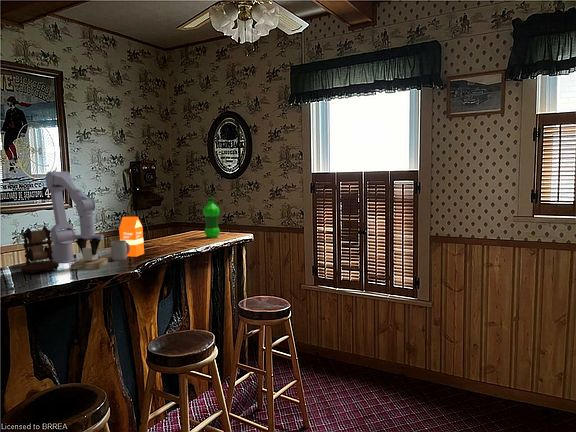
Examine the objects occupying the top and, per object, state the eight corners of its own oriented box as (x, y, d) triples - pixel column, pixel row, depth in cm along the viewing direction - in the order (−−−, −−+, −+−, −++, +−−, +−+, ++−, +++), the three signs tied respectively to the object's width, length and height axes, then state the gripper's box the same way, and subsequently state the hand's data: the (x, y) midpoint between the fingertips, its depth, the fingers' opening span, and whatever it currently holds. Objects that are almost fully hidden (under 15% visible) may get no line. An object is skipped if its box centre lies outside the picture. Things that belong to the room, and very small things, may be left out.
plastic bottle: (201, 238, 268) (199, 198, 265) (209, 235, 278) (207, 197, 275) (215, 238, 265) (214, 198, 262) (223, 236, 275) (221, 197, 272)
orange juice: (136, 256, 218) (133, 217, 215) (120, 256, 219) (118, 217, 217) (144, 253, 225) (142, 215, 223) (129, 253, 227) (126, 215, 225)
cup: (108, 259, 211) (107, 242, 210) (125, 256, 220) (124, 238, 219) (117, 261, 208) (116, 243, 207) (134, 257, 216) (133, 239, 215)
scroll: (51, 265, 202) (47, 223, 199) (64, 270, 192) (61, 226, 190) (16, 272, 190) (11, 227, 188) (28, 277, 181) (24, 230, 179)
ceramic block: (83, 260, 196) (82, 248, 196) (89, 258, 201) (88, 246, 200) (92, 260, 196) (91, 248, 195) (97, 258, 200) (97, 246, 199)
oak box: (71, 271, 191) (71, 264, 191) (81, 265, 203) (81, 259, 203) (99, 269, 193) (99, 263, 192) (107, 263, 205) (107, 257, 204)
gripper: (66, 226, 193) (69, 256, 194) (96, 226, 191) (98, 256, 192) (76, 224, 200) (79, 253, 201) (105, 224, 198) (107, 253, 199)
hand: (89, 254), depth 197 cm, fingers closed on ceramic block, 4 cm apart
